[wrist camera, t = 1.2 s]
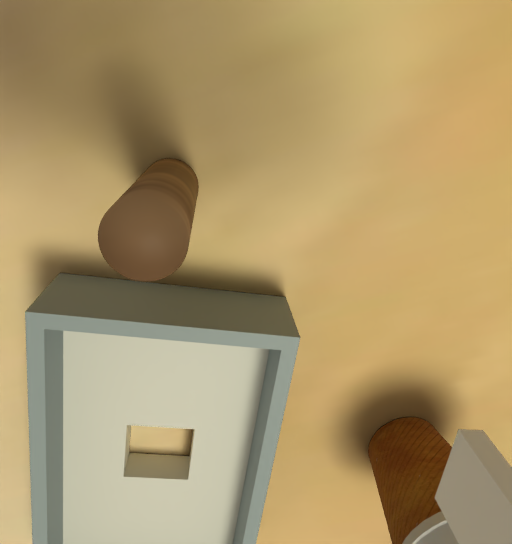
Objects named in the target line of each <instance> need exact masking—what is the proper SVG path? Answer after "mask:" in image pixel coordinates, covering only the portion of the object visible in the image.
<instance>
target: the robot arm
mask: <svg viewBox="0 0 512 544" xmlns="http://www.w3.org/2000/svg"><path fill="white" fill-rule="evenodd" d="M435 499H436V501H437V503H438V505H439V507H440V509H441V511H442V513H443V515H444V517H445V519H446V520H447V522H448V524H449V526H450V528H451V530H452V532H453V534H454V536H455V538H456V540H457V541H458V543H459V544H512V467H511V466H510V465H509V463H508V462H507V461H506V460H505V458H504V457H503V456H502V454H501V453H500V452H499V450H498V449H497V448H496V447H495V445H494V444H493V443H492V441H491V440H490V439H489V437H488V436H487V435H486V434H485V432H484V431H483V430H465V429H458V432H457V435H456V438H455V441H454V444H453V447H452V449H451V452H450V455H449V458H448V461H447V464H446V466H445V469H444V472H443V475H442V478H441V481H440V484H439V486H438V489H437V492H436V495H435Z"/></svg>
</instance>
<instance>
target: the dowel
mask: <svg viewBox="0 0 512 544" xmlns="http://www.w3.org/2000/svg"><path fill="white" fill-rule="evenodd" d="M198 187H199V186H198V180H197V177H196V175H195V173H194V171H193V170H192V169H191V168H190V167H189V166H188V165H187V164H186V163H184V162H182V161H180V160H178V159H173V158H166V159H161V160H158V161H156V162H155V163H153V164H152V165H151V166H150V167H149V168H148V169H147V170H146V171H145V172H144V173H143V174H142V175H141V176H140V177H139V178H138V179H137V180H136V182H135V183H134V184H133V185H132V186H131V187H130V188H129V189H128V190H127V191H126V192H125V193H124V194H123V195H122V196H121V197H120V198H119V199H118V200H117V201H116V202H115V203H114V204H113V205H112V207H111V208H110V209H109V210H108V211H107V212H106V213H105V215H104V216H103V218H102V220H101V223H100V226H99V230H98V242H99V247H100V250H101V253H102V255H103V257H104V258H105V260H106V261H107V263H108V264H109V265H110V266H111V267H112V268H113V269H114V270H115V271H117V272H118V273H119V274H121V275H123V276H125V277H127V278H129V279H133V280H137V281H155V280H160V279H163V278H165V277H167V276H169V275H170V274H172V273H173V272H175V271H176V270H177V269H178V268H179V267H180V266H181V264H182V263H183V261H184V259H185V257H186V254H187V251H188V246H189V240H190V234H191V229H192V223H193V218H194V212H195V206H196V201H197V195H198Z"/></svg>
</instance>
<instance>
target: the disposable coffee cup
mask: <svg viewBox="0 0 512 544" xmlns="http://www.w3.org/2000/svg"><path fill="white" fill-rule="evenodd" d="M451 449H452V447H451V446H450V445H449V444H448V443H447V441H446V440H445V439H444V438H443V437H442V436H441V435H440V434H439V432H438V431H437V430H436V429H435V428H434V427H433V426H432V425H431V424H430V423H429V422H427V421H426V420H423V419H420V418H415V417H406V418H400V419H396V420H394V421H391V422H389V423H387V424H386V425H384V426H383V427H381V428H380V429H379V430H378V431H377V432H376V433H375V434H374V436H373V437H372V439H371V441H370V444H369V449H368V453H369V458H370V461H371V465H372V469H373V472H374V476H375V480H376V484H377V488H378V491H379V495H380V499H381V503H382V506H383V510H384V514H385V518H386V521H387V525H388V529H389V533H390V537H391V540H392V544H459V543H458V541H457V540H456V538H455V536H454V534H453V532H452V530H451V528H450V526H449V524H448V522H447V520H446V519H445V517H444V515H443V513H442V511H441V509H440V507H439V505H438V503H437V501H436V499H435V495H436V492H437V489H438V486H439V484H440V481H441V478H442V475H443V472H444V469H445V466H446V464H447V461H448V458H449V455H450V452H451Z"/></svg>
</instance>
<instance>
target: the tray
mask: <svg viewBox="0 0 512 544" xmlns="http://www.w3.org/2000/svg"><path fill="white" fill-rule="evenodd" d="M25 319H26V351H27V382H28V413H29V445H30V476H31V507H32V539H33V544H256V540H257V536H258V531H259V526H260V522H261V517H262V512H263V508H264V503H265V499H266V494H267V489H268V485H269V480H270V475H271V471H272V466H273V461H274V457H275V452H276V448H277V443H278V438H279V434H280V429H281V424H282V420H283V415H284V410H285V406H286V401H287V397H288V392H289V387H290V383H291V378H292V373H293V369H294V364H295V359H296V355H297V350H298V346H299V341H300V336H299V333H298V330H297V327H296V325H295V322H294V319H293V316H292V313H291V311H290V308H289V305H288V302H287V300H286V297H281V296H272V295H262V294H253V293H243V292H234V291H225V290H215V289H206V288H197V287H187V286H178V285H169V284H159V283H150V282H140V281H131V280H122V279H112V278H103V277H94V276H84V275H75V274H66V273H59V274H58V275H57V277H56V278H55V279H54V280H53V281H52V282H51V283H50V284H49V286H48V287H47V288H46V289H45V290H44V291H43V292H42V293H41V295H40V296H39V297H38V298H37V299H36V300H35V301H34V302H33V304H32V305H31V306H30V307H29V308H28V309H27V310H26V311H25ZM131 425H134V426H150V427H166V428H182V429H193V435H192V443H191V451H190V456H178V455H160V454H141V453H129V449H130V435H131Z"/></svg>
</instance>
